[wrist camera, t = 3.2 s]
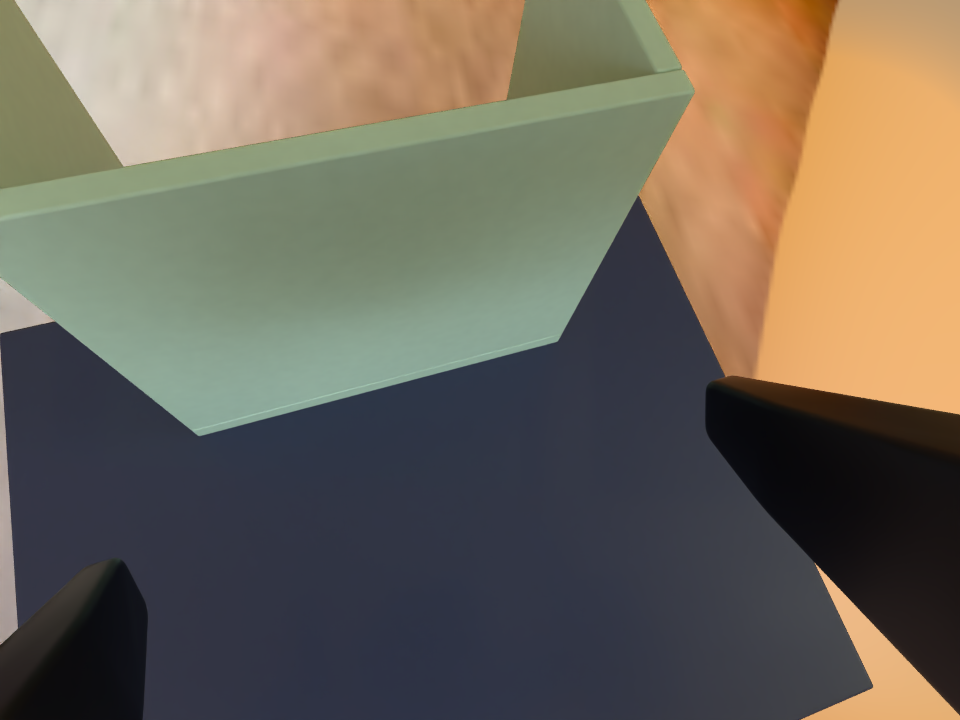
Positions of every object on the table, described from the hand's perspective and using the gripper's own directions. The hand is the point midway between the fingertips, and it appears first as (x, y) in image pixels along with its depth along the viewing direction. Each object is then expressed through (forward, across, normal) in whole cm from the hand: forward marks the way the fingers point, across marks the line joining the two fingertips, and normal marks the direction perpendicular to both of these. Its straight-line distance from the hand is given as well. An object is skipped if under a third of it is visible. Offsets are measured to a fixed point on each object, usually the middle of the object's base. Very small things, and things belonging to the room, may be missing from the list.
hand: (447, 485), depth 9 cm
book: (+9, 0, +8) cm, 12 cm away
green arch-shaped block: (+11, 0, 0) cm, 11 cm away
